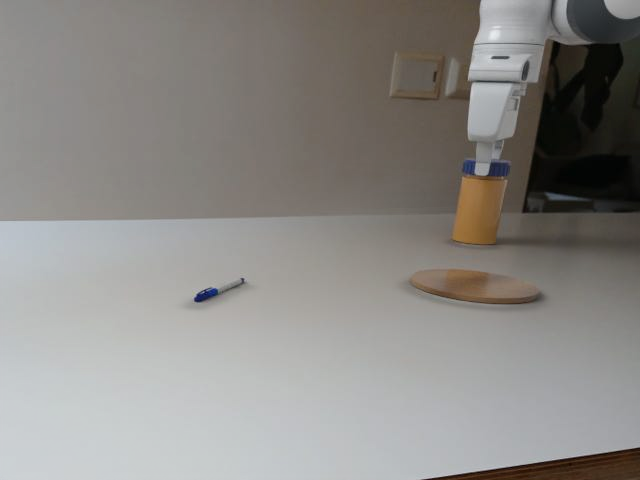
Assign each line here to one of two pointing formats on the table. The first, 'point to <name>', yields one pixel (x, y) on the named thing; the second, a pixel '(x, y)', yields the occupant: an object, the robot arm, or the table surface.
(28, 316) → the table surface
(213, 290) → the ballpoint pen
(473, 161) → the lid
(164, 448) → the table surface
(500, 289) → the coaster
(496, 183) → the jar
